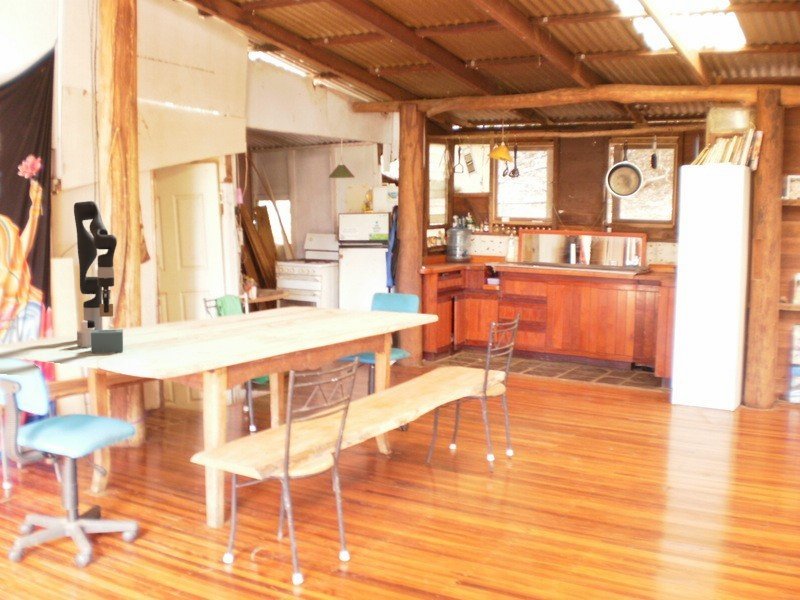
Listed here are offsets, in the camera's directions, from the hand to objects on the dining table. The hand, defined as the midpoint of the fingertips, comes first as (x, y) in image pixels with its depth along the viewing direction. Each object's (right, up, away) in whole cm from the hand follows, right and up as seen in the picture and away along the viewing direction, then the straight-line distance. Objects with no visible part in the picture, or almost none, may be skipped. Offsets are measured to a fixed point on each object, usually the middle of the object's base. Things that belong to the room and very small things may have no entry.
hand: (106, 312), depth 395 cm
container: (-15, -17, +17) cm, 29 cm away
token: (0, -2, 0) cm, 2 cm away
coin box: (0, -19, +2) cm, 19 cm away
